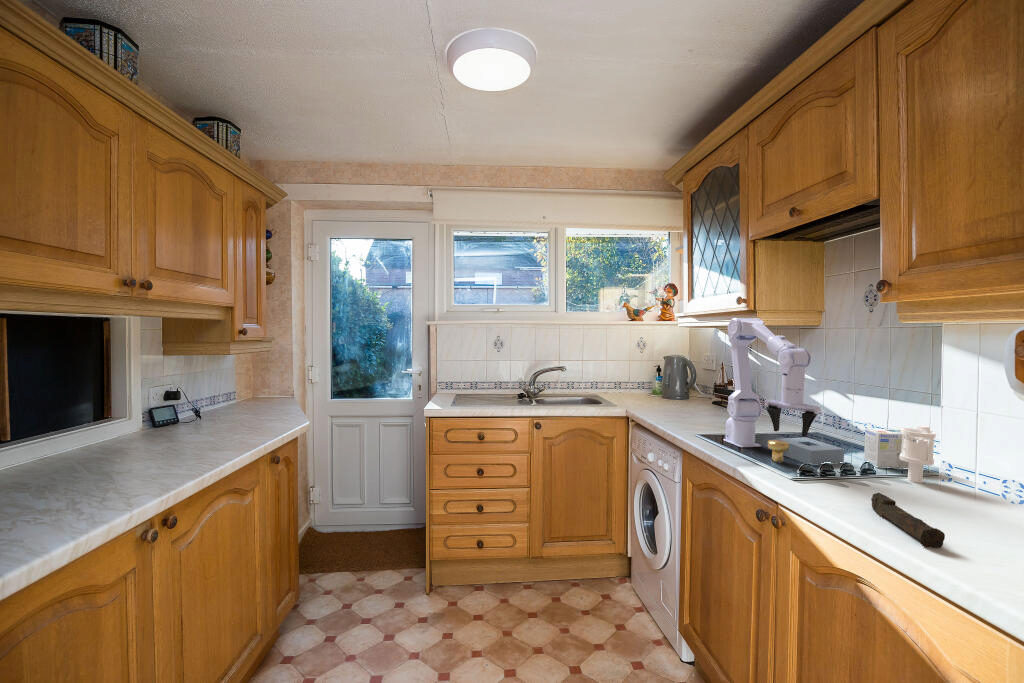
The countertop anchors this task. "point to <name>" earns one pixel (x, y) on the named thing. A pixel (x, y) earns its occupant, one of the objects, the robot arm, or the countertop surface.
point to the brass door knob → (778, 449)
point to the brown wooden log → (907, 521)
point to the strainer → (917, 450)
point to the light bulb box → (884, 448)
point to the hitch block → (812, 451)
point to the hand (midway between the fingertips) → (790, 433)
